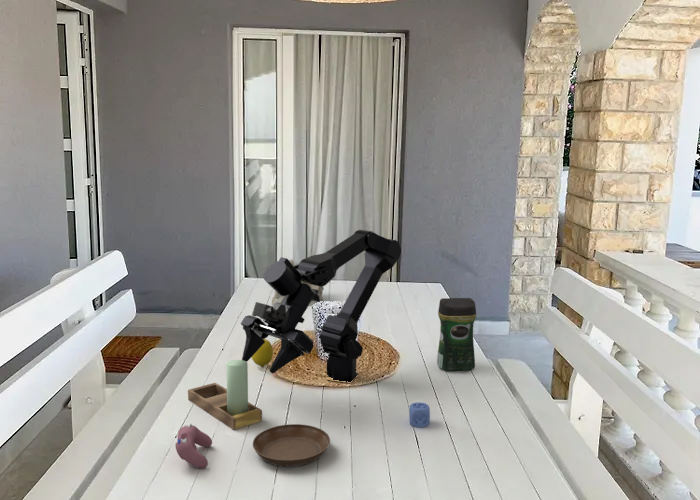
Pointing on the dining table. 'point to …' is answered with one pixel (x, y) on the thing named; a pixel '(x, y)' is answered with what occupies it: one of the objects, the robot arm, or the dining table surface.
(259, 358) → the lemon
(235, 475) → the dining table surface
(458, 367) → the coffee jar
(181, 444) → the video game controller
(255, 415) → the wooden compartment tray
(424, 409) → the decorative dice
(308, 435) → the saucer
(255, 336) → the robot arm
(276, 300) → the ceramic cottage
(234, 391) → the peg
